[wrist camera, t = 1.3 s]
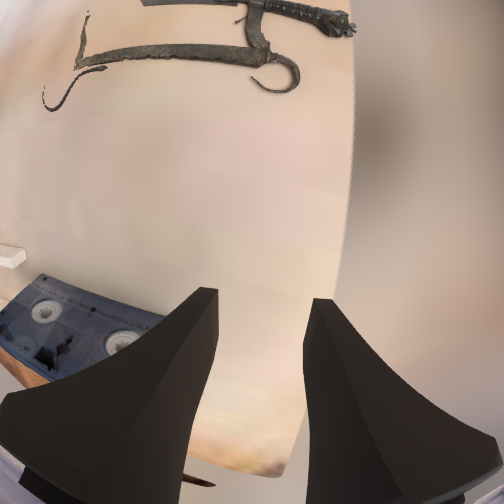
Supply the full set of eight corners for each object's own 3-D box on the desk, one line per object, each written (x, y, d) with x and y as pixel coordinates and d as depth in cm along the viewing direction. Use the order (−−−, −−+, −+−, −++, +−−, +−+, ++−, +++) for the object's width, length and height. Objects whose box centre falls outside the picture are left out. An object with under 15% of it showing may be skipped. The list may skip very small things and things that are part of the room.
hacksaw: (356, 22, 12) (361, 14, 11) (323, 151, 16) (327, 153, 15) (68, 11, 11) (58, 8, 10) (42, 112, 16) (31, 113, 15)
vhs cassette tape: (45, 290, 24) (-7, 343, 15) (41, 268, 23) (-17, 320, 14) (191, 345, 24) (160, 434, 15) (194, 323, 23) (158, 417, 14)
